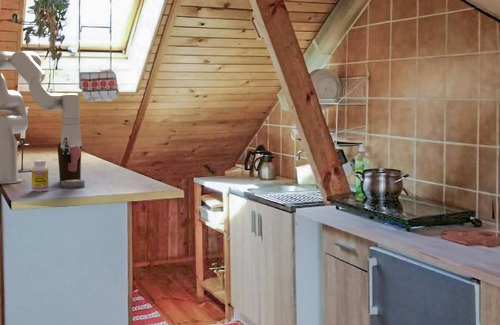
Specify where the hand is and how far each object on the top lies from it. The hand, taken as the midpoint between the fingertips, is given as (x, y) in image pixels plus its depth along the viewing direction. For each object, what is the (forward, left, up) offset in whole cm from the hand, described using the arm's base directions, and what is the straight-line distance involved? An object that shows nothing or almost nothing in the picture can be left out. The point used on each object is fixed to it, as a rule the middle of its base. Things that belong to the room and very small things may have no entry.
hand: (72, 162), depth 284 cm
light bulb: (0, 0, -4) cm, 4 cm away
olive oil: (-10, +15, -11) cm, 21 cm away
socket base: (0, 0, -11) cm, 11 cm away
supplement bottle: (-7, -14, -11) cm, 19 cm away
